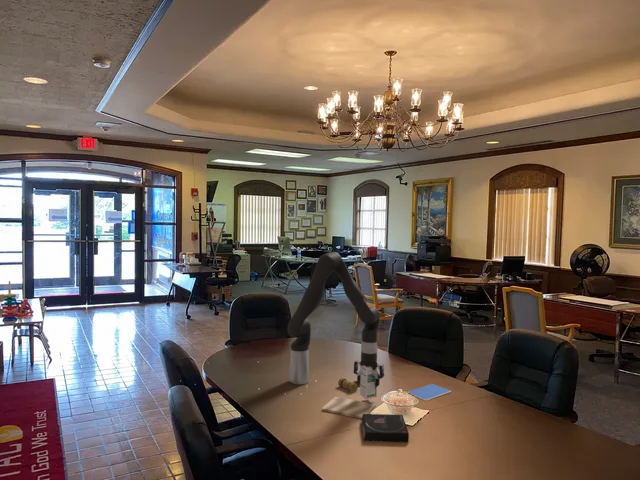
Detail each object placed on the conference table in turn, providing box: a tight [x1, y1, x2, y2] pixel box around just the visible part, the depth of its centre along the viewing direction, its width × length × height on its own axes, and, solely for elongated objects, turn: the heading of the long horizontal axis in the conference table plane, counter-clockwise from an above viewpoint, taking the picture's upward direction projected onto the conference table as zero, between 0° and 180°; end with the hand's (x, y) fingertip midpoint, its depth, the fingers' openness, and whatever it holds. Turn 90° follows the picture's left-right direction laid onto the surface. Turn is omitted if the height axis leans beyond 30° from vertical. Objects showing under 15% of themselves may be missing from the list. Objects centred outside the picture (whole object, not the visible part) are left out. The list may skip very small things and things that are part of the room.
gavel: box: [337, 377, 360, 393], centre depth 235 cm, size 21×5×10 cm
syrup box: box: [359, 365, 378, 400], centre depth 215 cm, size 6×6×14 cm
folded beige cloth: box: [321, 396, 377, 420], centre depth 206 cm, size 20×15×1 cm
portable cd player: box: [361, 413, 410, 443], centre depth 184 cm, size 16×17×4 cm
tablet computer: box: [407, 383, 452, 402], centre depth 226 cm, size 19×13×1 cm, turn 127°
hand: (368, 384), depth 215 cm, fingers closed on syrup box, 8 cm apart
